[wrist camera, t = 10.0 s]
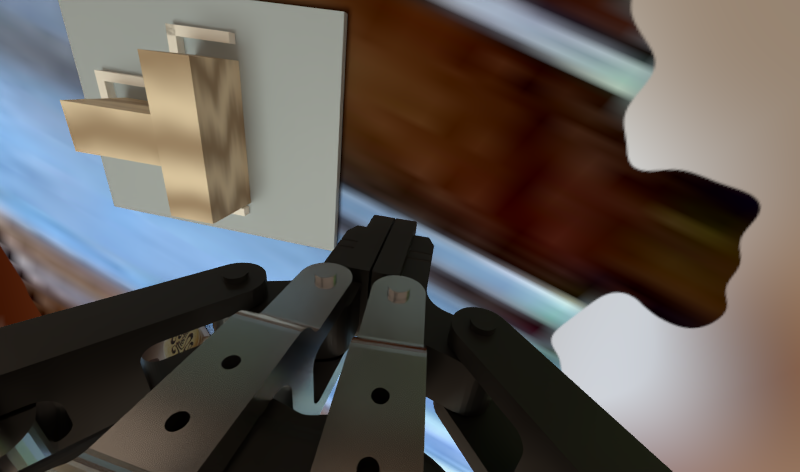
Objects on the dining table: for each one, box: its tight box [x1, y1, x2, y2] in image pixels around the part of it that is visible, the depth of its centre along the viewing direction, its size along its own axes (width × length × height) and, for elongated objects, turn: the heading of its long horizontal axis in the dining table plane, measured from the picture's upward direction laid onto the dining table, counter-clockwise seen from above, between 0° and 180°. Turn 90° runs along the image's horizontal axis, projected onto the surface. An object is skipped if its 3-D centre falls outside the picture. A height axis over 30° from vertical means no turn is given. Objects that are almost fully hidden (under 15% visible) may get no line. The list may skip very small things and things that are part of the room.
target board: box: [58, 0, 348, 251], centre depth 38 cm, size 26×32×2 cm
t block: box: [60, 49, 251, 224], centre depth 36 cm, size 16×15×7 cm
